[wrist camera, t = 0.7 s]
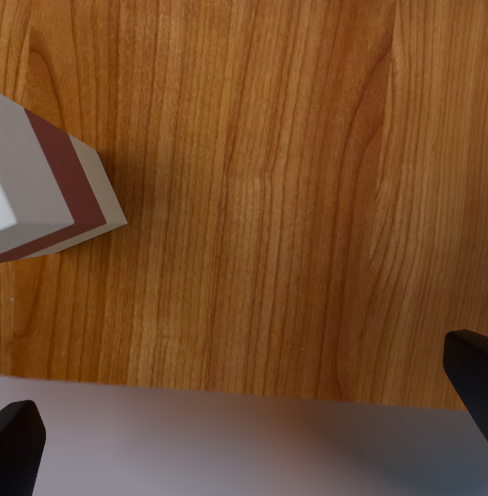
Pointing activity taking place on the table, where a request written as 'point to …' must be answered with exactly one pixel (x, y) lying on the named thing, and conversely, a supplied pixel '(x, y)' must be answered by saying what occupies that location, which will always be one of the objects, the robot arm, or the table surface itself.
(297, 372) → the table surface
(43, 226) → the red banded white pillar
